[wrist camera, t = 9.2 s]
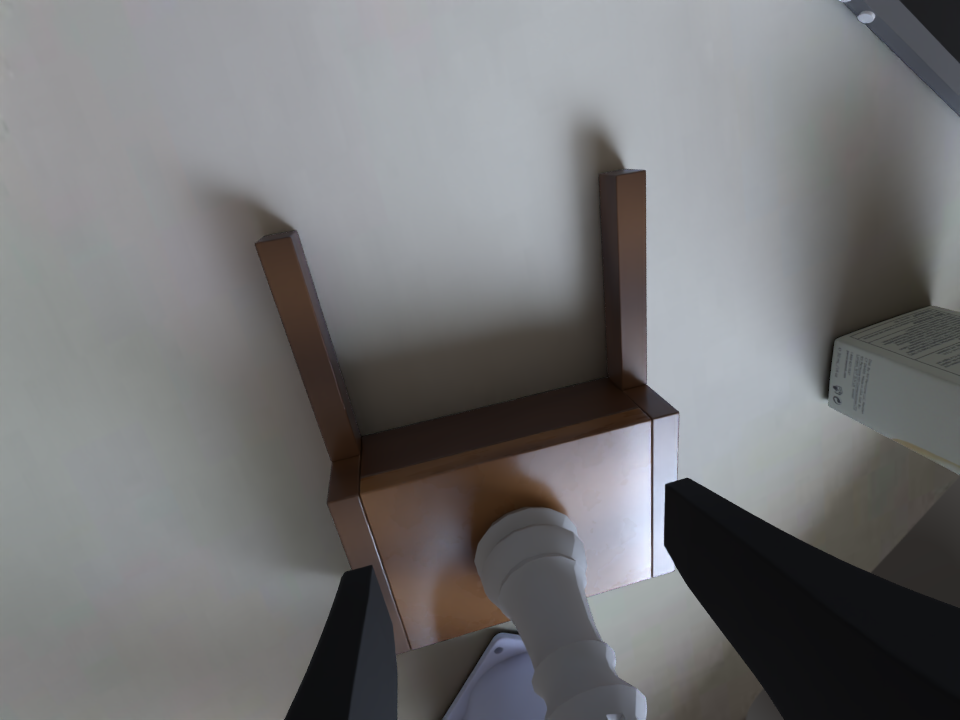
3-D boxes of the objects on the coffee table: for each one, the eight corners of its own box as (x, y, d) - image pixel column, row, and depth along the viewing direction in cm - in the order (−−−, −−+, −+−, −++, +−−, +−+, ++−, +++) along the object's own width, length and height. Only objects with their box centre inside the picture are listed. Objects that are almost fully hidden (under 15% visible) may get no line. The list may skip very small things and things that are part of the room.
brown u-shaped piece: (263, 236, 17) (233, 258, 13) (627, 168, 19) (687, 171, 15) (382, 585, 25) (384, 659, 21) (633, 514, 26) (675, 571, 23)
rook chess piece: (525, 481, 19) (620, 686, 11) (594, 530, 20) (714, 733, 13) (449, 555, 19) (495, 792, 12) (523, 596, 21) (600, 823, 14)
